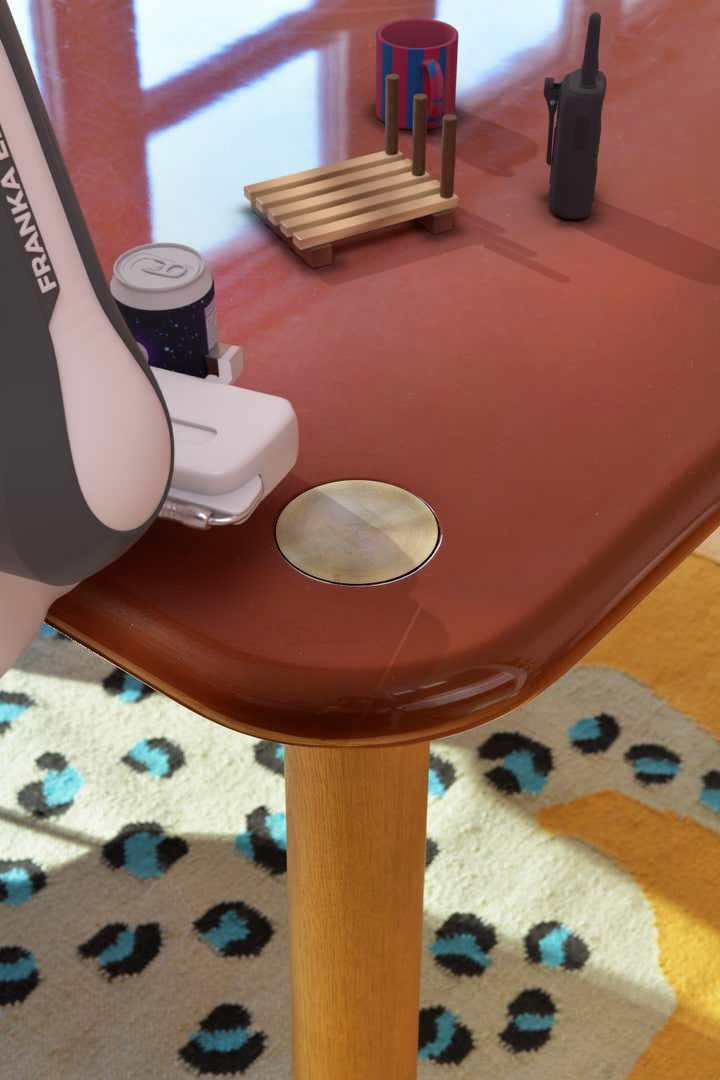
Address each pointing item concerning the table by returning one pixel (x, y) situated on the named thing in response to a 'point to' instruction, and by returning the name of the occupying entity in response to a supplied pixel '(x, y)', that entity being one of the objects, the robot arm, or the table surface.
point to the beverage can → (168, 305)
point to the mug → (418, 67)
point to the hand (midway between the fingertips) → (175, 341)
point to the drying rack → (362, 189)
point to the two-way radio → (576, 131)
